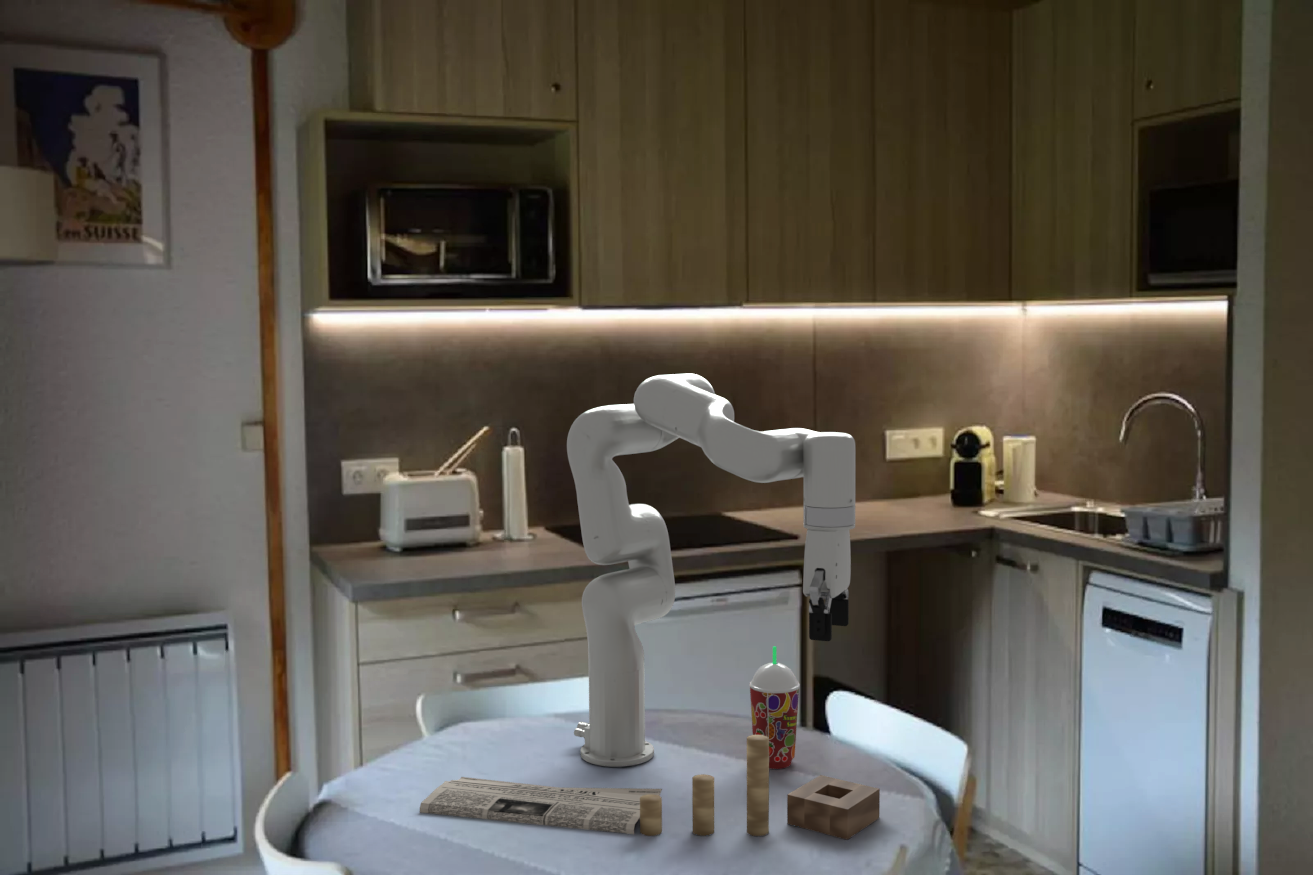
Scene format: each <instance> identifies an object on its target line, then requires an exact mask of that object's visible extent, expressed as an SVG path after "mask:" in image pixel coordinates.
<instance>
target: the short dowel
mask: <svg viewBox="0 0 1313 875" xmlns="http://www.w3.org/2000/svg"><path fill="white" fill-rule="evenodd" d="M662 810H663V799H662V796H659V795H654V794H648V795H643V796H641V797H640V818H639V833H640V834H642V835H643V836H645V837H646V836H647V837H655V836H660V835H661V834H662V833H663V811H662Z"/></svg>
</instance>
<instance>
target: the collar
mask: <svg viewBox="0 0 1313 875" xmlns="http://www.w3.org/2000/svg"><path fill="white" fill-rule="evenodd" d="M880 790H881V789H880V788H879V787H874V786H869V785H865V784H861V783H858V782H857V783H856V782H851V781H848V780H843V779H839V778H835V777H830V776H827V775H822V774H820V775H818V776H817V777H814V778H813V779H811V780H810V781H808V782H806V783H804V784H803V785H801V786H800V787H798V788H795V789H794V790H793V791H791V792H789V793H787V795H786V796H787V797H786V798H787V799H786V804H787V805H786V809H787V811H786V812H787V814H786V818H787V819H786V822H787V823H786V824H787V825H789V824H790V826H793V825H795V826H794V827H797V826H799V827H798V828H801V829H805V830H809V831H812V832H817V833H820V834H824V835H828V836H832V837H835V838H839V839H841V840H842V839H843V840H847V841H848V840H849V839H851V838H852V837H854V836H855V835H857V834H859V833H860V832H861V831H862V830H864V829H865V828H867V827H868V826H870V825H871V824H873V823H874V822H876V821H877V820H878V819H880V807H881V806H880V802H881V801H880V797H881V794H880V793H881V791H880Z"/></svg>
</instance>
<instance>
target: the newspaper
mask: <svg viewBox="0 0 1313 875" xmlns="http://www.w3.org/2000/svg"><path fill="white" fill-rule="evenodd" d="M662 790H663V788H636V787H635V788H633V787H632V788H631V787H629V788H627V787H625V788H623V787H622V788H621V787H620V788H617V787H615V788H614V787H557V786H550V785H549V786H548V785H541V784H540V785H539V784H531V783H522V782H521V783H520V782H514V781H511V782H510V781H501V780H495V779H494V780H493V779H484V778H477V777H476V778H475V777H465V776H461V777H460V778H459V779H451V780H450V781H449V780H444V782H443V783H442V784H440V785H439V786H438V787H436V788H435V789H433V791H432V792H431V793H430V794H429V795H428V796H427V797H425V799H424V800H422V802H421V803H420V805H419V814H420V813H422V814H430V815H431V814H433V815H443V816H450V817H452V816H453V817H462V818H470V819H481V820H490V821H502V822H509V823H519V824H520V823H521V824H528V825H529V824H531V825H538V826H539V825H540V826H551V827H558V828H569V829H577V830H588V831H595V832H596V831H599V832H606V833H608V832H609V833H618V834H626V835H635V826H636V824H637V822H638V821H640V797H641V796H643V795H648V794H654V795H659V796H660V795H661V793H662Z"/></svg>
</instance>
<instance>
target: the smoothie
mask: <svg viewBox="0 0 1313 875" xmlns="http://www.w3.org/2000/svg"><path fill="white" fill-rule="evenodd" d="M800 685H801V684H800V682H799V681H798V679H797V676H796V675H795V674H794V672H793V670H792V669H791V668H790V667H789V666H787V665H786V664H784V663H781V662H777V646H775V645H773V646H772V662H768V663H765V664H763V665H761V666H759V668H758V669H756V671H755V672H754V675H753V677H752V679H751V681H749V694H750V695H749V698H750V710H751V712H750V713H751V729H752V731H751V732H752V735H764V736H767V737H768V738H769V770H781V769H786V768H788V767H790V766H791V765H792V760H794V759H795V757H796V741H797V726H798V713H799V712H798V711H799V710H798V709H799V698H800V697H799V696H800V695H799V694H800V687H801V686H800Z"/></svg>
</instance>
